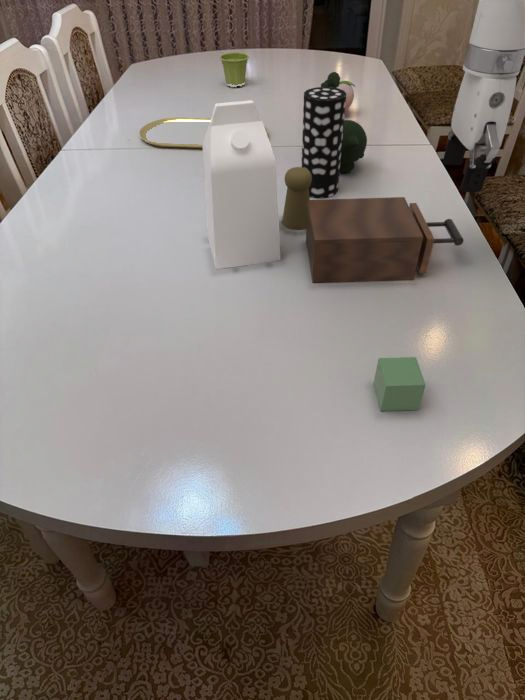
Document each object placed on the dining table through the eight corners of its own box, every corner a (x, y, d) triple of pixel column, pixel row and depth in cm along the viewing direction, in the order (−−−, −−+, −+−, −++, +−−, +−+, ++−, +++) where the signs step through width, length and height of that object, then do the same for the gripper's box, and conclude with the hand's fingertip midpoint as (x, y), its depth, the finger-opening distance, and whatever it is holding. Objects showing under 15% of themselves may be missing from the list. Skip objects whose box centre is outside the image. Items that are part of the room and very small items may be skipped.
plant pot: (254, 82, 168) (253, 53, 162) (242, 91, 162) (240, 61, 156) (229, 79, 171) (228, 51, 165) (217, 88, 165) (214, 58, 159)
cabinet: (396, 238, 96) (404, 196, 90) (413, 280, 86) (423, 236, 80) (305, 241, 96) (307, 199, 90) (312, 283, 86) (314, 240, 80)
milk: (266, 228, 100) (264, 88, 82) (280, 260, 92) (281, 112, 73) (207, 236, 98) (191, 95, 80) (216, 269, 90) (200, 120, 72)
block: (409, 382, 69) (416, 356, 66) (417, 410, 66) (425, 384, 62) (373, 383, 69) (378, 357, 66) (380, 411, 66) (386, 386, 62)
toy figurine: (307, 150, 131) (333, 184, 112) (309, 69, 119) (338, 91, 100) (342, 147, 132) (374, 180, 113) (347, 66, 120) (383, 88, 101)
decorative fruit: (326, 122, 141) (328, 83, 134) (317, 112, 146) (319, 75, 140) (357, 118, 142) (361, 80, 135) (347, 109, 148) (350, 72, 141)
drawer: (442, 234, 95) (450, 201, 90) (462, 272, 86) (473, 238, 81) (323, 238, 95) (325, 205, 90) (331, 276, 86) (334, 242, 81)
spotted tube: (345, 191, 110) (355, 94, 96) (316, 202, 107) (322, 103, 93) (321, 178, 115) (327, 84, 102) (293, 187, 112) (295, 92, 98)
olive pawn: (278, 227, 100) (278, 174, 92) (287, 213, 104) (288, 161, 96) (306, 232, 98) (309, 179, 91) (315, 217, 102) (318, 165, 95)
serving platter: (262, 153, 126) (262, 146, 125) (130, 148, 130) (129, 142, 129) (271, 125, 140) (271, 120, 138) (152, 122, 144) (151, 116, 143)
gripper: (547, 77, 63) (503, 202, 75) (497, 42, 75) (466, 154, 87) (488, 78, 63) (453, 203, 75) (448, 43, 75) (424, 155, 87)
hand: (460, 177), depth 81 cm, fingers open, 9 cm apart
